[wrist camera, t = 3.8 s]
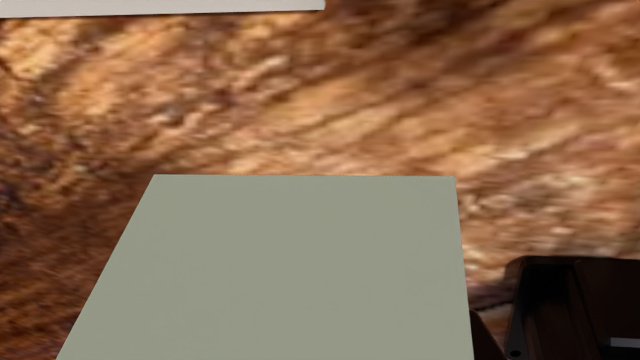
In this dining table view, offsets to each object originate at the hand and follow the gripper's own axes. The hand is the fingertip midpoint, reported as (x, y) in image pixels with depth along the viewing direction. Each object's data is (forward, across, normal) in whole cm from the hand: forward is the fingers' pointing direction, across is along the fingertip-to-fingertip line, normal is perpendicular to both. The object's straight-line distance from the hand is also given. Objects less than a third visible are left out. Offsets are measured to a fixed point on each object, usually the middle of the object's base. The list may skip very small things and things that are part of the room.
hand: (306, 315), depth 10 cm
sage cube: (+1, 0, 0) cm, 1 cm away
